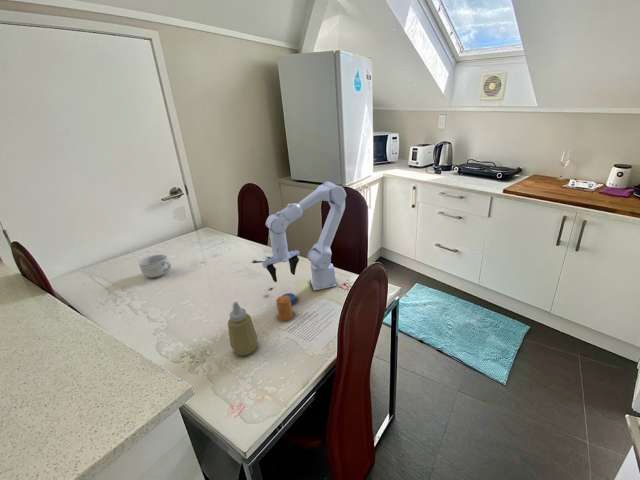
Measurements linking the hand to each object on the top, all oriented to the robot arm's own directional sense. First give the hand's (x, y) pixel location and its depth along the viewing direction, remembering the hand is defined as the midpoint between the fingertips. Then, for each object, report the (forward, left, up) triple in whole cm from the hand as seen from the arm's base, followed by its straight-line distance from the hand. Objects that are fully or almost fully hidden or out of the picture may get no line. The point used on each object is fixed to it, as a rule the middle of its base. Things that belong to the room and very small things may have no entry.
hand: (284, 277), depth 122 cm
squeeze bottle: (+16, +24, -10) cm, 30 cm away
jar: (+2, +12, -9) cm, 15 cm away
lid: (0, +3, -8) cm, 8 cm away
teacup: (+52, -41, -10) cm, 67 cm away
